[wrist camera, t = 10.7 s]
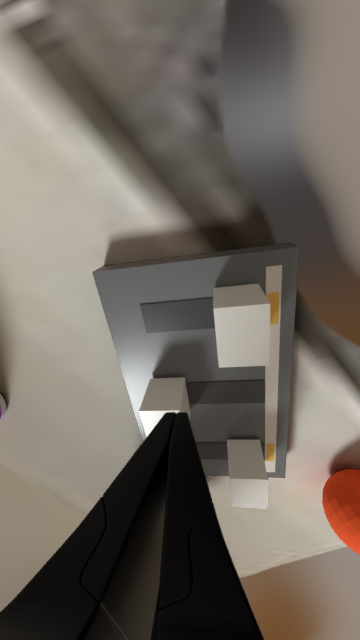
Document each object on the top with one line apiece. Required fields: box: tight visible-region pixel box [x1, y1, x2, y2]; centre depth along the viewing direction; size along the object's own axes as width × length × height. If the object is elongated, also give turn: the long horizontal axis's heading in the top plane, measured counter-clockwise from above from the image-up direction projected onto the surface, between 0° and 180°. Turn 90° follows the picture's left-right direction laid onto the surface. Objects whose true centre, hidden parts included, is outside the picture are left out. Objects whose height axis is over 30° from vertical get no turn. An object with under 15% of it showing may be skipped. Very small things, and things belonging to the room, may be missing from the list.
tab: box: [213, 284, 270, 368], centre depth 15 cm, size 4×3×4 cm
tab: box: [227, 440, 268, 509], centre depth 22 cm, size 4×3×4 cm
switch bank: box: [92, 243, 299, 478], centre depth 22 cm, size 23×14×2 cm, turn 8°
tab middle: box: [139, 377, 191, 437], centre depth 20 cm, size 4×3×4 cm
